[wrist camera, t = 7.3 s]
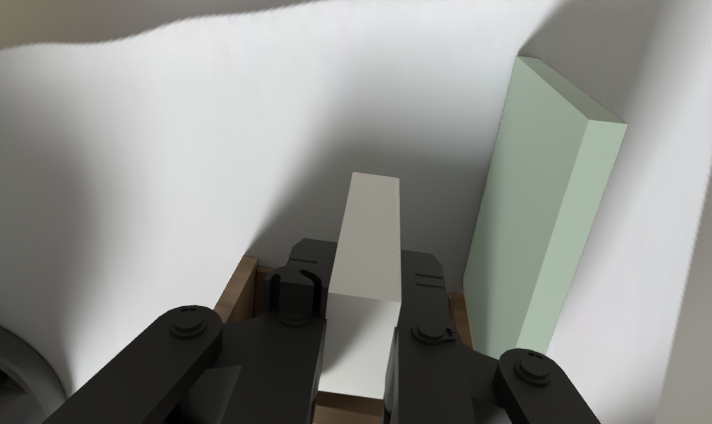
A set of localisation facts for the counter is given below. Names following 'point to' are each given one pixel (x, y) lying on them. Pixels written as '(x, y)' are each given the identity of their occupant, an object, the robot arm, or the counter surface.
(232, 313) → the walnut cabinet
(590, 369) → the counter surface
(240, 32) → the counter surface
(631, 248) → the counter surface
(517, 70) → the cabinet door
